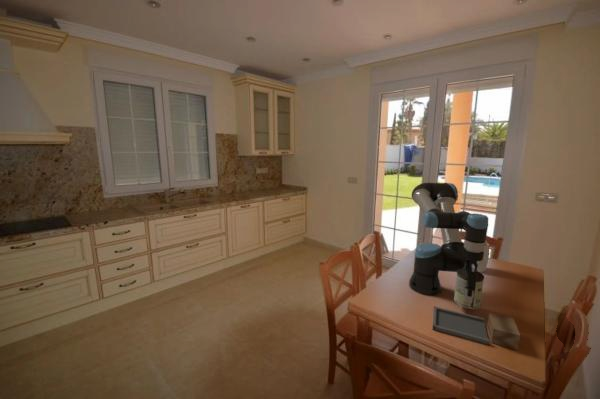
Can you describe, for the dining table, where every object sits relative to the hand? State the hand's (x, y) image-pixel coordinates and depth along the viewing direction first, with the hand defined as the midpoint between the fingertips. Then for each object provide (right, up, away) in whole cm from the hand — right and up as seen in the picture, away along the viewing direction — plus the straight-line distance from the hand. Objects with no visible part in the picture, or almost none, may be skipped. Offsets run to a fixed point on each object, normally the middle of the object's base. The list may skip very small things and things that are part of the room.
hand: (467, 295), depth 120 cm
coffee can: (0, -3, +1) cm, 4 cm away
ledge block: (+3, -10, -16) cm, 20 cm away
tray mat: (-10, -9, -10) cm, 16 cm away
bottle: (+30, +1, +40) cm, 51 cm away
